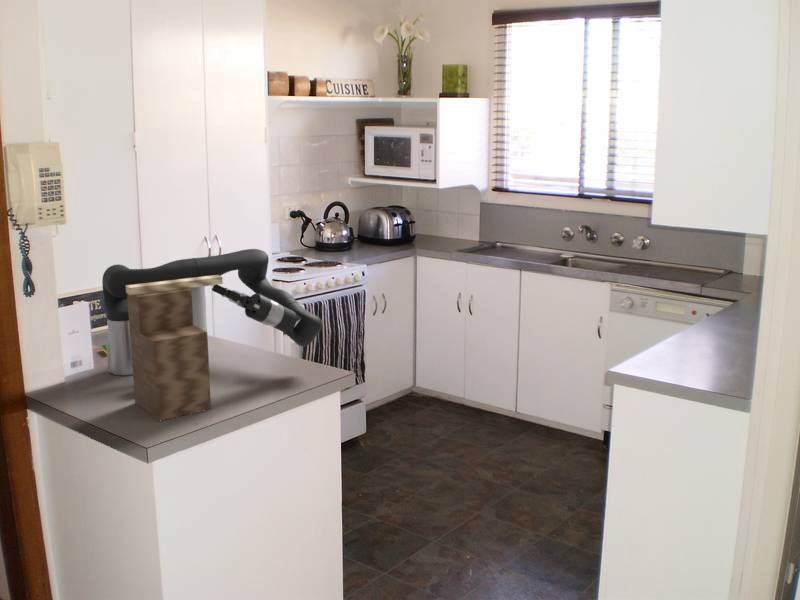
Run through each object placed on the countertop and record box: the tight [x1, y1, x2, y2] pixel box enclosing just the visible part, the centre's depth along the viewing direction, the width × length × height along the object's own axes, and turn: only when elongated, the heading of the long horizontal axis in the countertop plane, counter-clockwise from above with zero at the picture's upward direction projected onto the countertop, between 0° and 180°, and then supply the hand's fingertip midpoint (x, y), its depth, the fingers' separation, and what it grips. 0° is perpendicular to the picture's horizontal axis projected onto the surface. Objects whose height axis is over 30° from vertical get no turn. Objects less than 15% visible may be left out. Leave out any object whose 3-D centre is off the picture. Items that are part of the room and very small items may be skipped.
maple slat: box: [126, 275, 223, 295], centre depth 235 cm, size 26×4×2 cm, turn 123°
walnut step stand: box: [127, 288, 212, 422], centre depth 232 cm, size 15×17×32 cm
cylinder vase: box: [189, 286, 208, 333], centre depth 281 cm, size 12×12×25 cm
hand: (219, 289), depth 243 cm, fingers open, 8 cm apart
